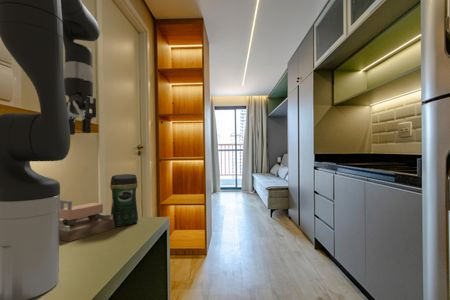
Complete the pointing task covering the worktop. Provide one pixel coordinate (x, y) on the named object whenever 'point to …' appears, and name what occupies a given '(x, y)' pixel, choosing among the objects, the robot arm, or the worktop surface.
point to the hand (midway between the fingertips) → (78, 133)
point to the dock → (85, 227)
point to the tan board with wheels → (79, 212)
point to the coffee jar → (124, 199)
